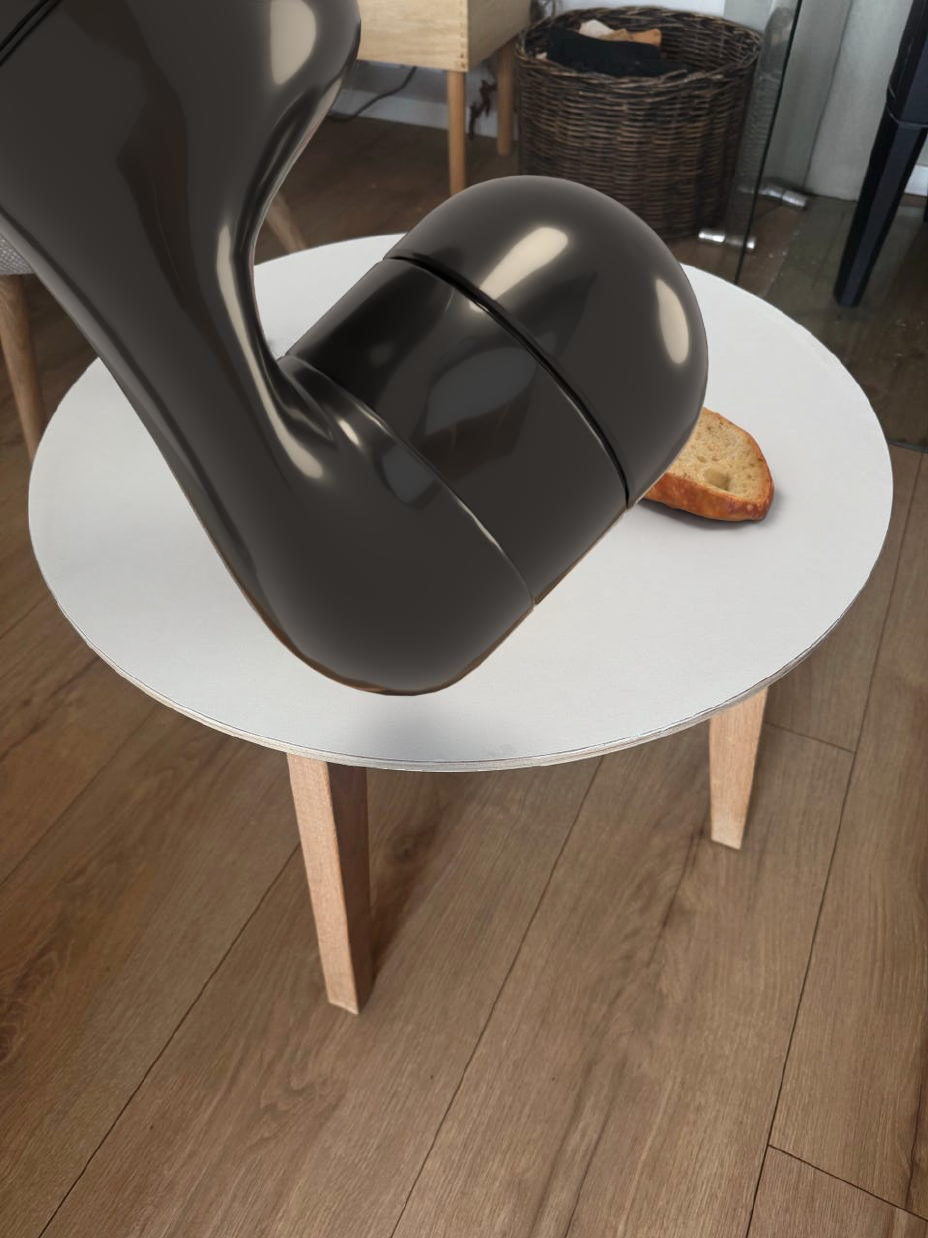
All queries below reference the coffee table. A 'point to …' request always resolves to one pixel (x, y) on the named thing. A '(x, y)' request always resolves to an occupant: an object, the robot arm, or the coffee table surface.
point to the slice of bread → (718, 474)
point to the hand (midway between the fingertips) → (377, 546)
